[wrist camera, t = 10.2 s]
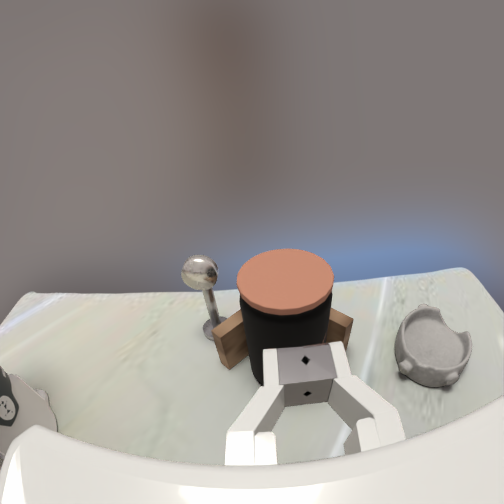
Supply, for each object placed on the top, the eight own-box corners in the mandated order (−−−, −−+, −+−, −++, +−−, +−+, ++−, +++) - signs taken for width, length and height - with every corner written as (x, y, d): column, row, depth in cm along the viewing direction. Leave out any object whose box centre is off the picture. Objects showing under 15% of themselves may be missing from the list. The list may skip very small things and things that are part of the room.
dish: (408, 315, 45) (415, 295, 42) (468, 342, 36) (479, 323, 33) (375, 370, 37) (383, 351, 34) (446, 406, 28) (461, 389, 25)
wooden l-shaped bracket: (220, 369, 40) (209, 338, 36) (226, 312, 51) (219, 278, 47) (347, 359, 39) (356, 326, 35) (331, 303, 50) (335, 269, 46)
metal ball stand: (202, 341, 45) (177, 263, 37) (206, 320, 50) (184, 244, 41) (231, 340, 45) (213, 260, 36) (233, 319, 49) (217, 241, 40)
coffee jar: (330, 386, 35) (350, 296, 26) (257, 402, 35) (242, 318, 25) (310, 334, 44) (315, 242, 35) (247, 347, 44) (232, 256, 34)
